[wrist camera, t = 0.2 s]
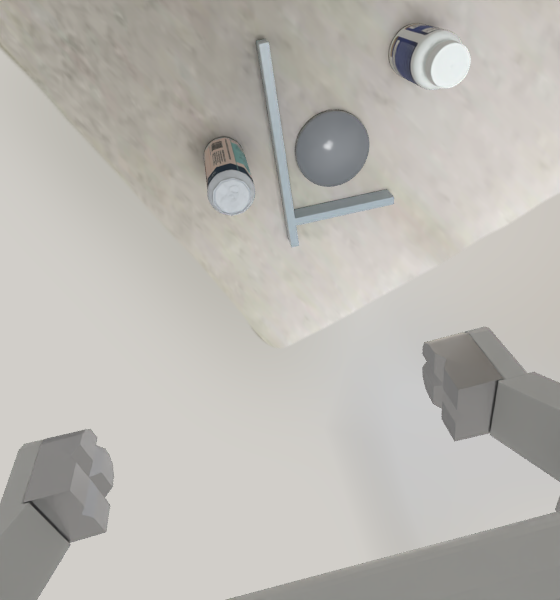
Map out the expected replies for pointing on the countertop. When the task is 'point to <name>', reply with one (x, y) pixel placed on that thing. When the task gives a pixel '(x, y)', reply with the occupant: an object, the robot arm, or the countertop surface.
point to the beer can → (228, 177)
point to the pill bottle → (429, 56)
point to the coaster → (332, 148)
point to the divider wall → (290, 214)
